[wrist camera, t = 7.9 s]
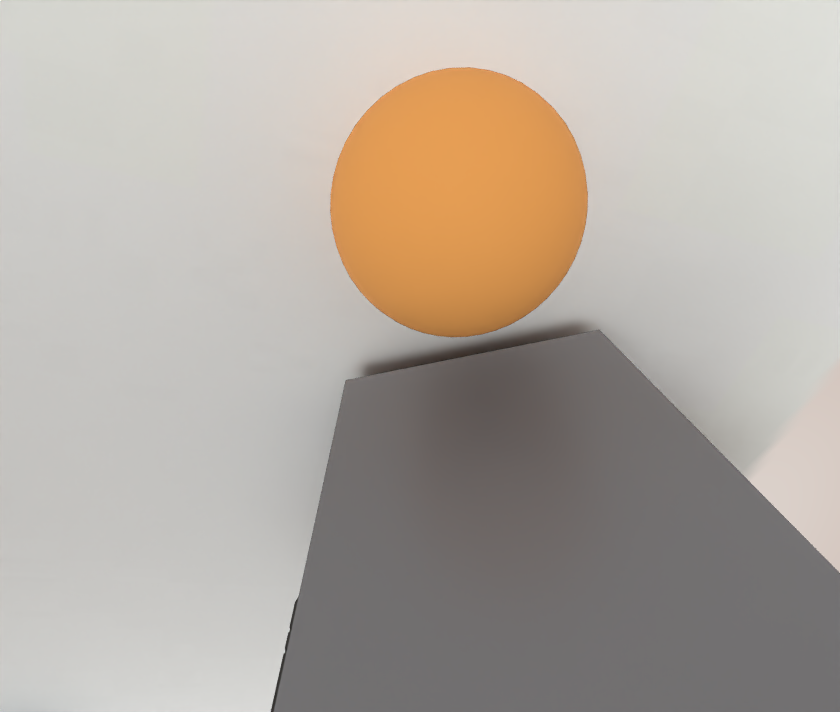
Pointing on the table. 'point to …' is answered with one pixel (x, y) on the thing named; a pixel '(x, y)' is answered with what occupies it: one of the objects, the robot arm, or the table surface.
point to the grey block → (549, 553)
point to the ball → (459, 202)
